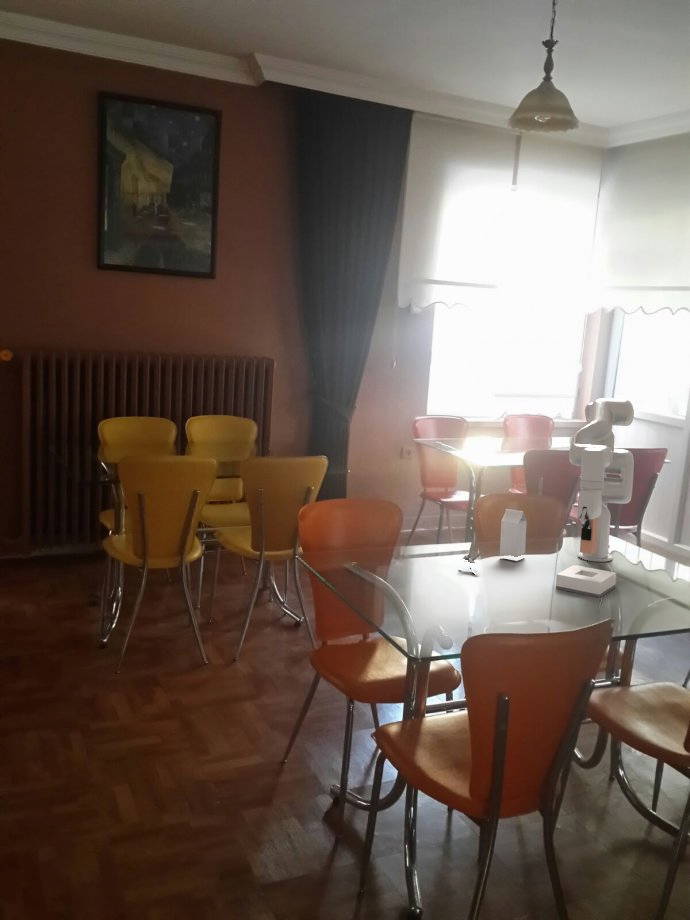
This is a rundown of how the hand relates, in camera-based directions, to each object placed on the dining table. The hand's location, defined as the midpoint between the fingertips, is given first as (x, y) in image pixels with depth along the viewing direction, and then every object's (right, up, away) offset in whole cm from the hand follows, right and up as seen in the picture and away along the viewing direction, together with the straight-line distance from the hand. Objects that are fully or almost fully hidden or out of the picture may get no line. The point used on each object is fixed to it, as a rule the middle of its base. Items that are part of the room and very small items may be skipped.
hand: (588, 538), depth 278 cm
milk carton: (-18, -12, +38) cm, 44 cm away
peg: (0, -5, +1) cm, 5 cm away
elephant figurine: (-36, -14, +20) cm, 44 cm away
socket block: (0, -17, +3) cm, 17 cm away
